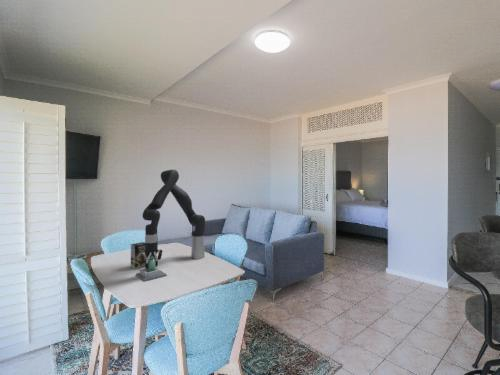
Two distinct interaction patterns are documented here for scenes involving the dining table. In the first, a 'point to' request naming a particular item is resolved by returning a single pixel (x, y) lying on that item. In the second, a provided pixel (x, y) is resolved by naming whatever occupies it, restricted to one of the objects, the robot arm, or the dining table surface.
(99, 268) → the dining table surface
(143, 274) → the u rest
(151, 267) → the green bottle
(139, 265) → the coffee box
